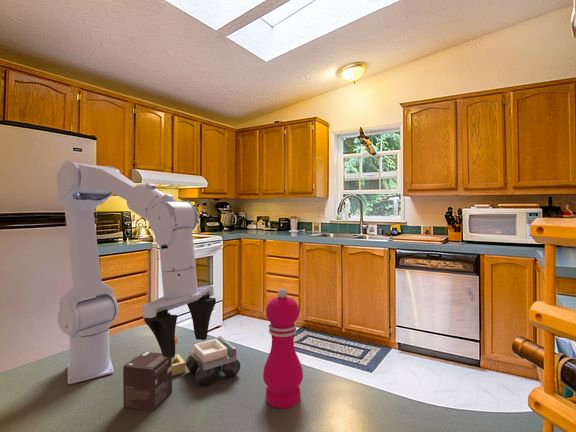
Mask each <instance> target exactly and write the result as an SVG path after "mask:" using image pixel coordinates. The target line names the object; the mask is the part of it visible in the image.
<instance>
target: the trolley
mask: <svg viewBox="0 0 576 432" xmlns="http://www.w3.org/2000/svg"><path fill="white" fill-rule="evenodd" d="M217 340H218V341H219V342H220V343H222V344H223V345H224V346H225V347H226V348H227V356H226V357H223V358H219V359H216V360H212V361H209V362H205V363H204V362H203V361H202V360H201V359H200V358H199V357H198V356H197V355H196V354H195V353H194V349H192V350H189V355H188V356H187V358H186V360H185V368H186V369H187V370H188V371H189V372H190V373H192V374H194V376H195V380H196V381H197V382H198V384H199V385H201V386H202V387H207V386H209V385H211V384H212V383H213V382H214V381H215V379H216V376H217V372H216V369H215V368H216V367H219V366H220V369H221V372H222V373H223V374H224V375H225V376H226V377H228V378H234V377H235V376H237V374H239V372H240V369H241V362H240V361H239V360H238V359H237V348H236V347H235V346H234V345H233V344H231V343H230V342H229V341H228V340H227V339H225V338H224V337H223V336H222V335H219V336H217Z"/></svg>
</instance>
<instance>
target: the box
mask: <svg viewBox="0 0 576 432" xmlns="http://www.w3.org/2000/svg"><path fill="white" fill-rule="evenodd" d="M122 369H123V370H122V377H123V379H122V381H123V384H122V386H123V387H122V389H123V391H122V392H123V393H122V394H123V407H124V408H130V409H131V408H132V409H138V410H139V409H140V410H147V411H154V410H155V409H157V408H158V407H159V406H160V405H161V404H162V403H163V402H164V401H165V400H166V399H167V398H168V397H169V396H170V395H171V394H172V392H173V376H172V361H171V358H170V357H163V354H162V352H152V351H144V352H142V353H141V354H139V355H137V356H135V357H134V358H132V359H131V360H130V361H128V362H126V364H124V365H123V366H122Z"/></svg>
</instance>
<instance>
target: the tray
mask: <svg viewBox="0 0 576 432" xmlns="http://www.w3.org/2000/svg"><path fill="white" fill-rule="evenodd" d="M193 350H194V353H195V354H196V355H197V356H198V357H199V358H200V359H201V360H202V361H203V362H204V363H205V362H209V361H212V360H216V359H219V358H223V357H226V356H227V348H226V347H225V346H224V345H223V344H222V343H220V342H219V341H218V338H214V339H211V340H210V339H209V340H205V341H203V342H198V343H195V344H193Z"/></svg>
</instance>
